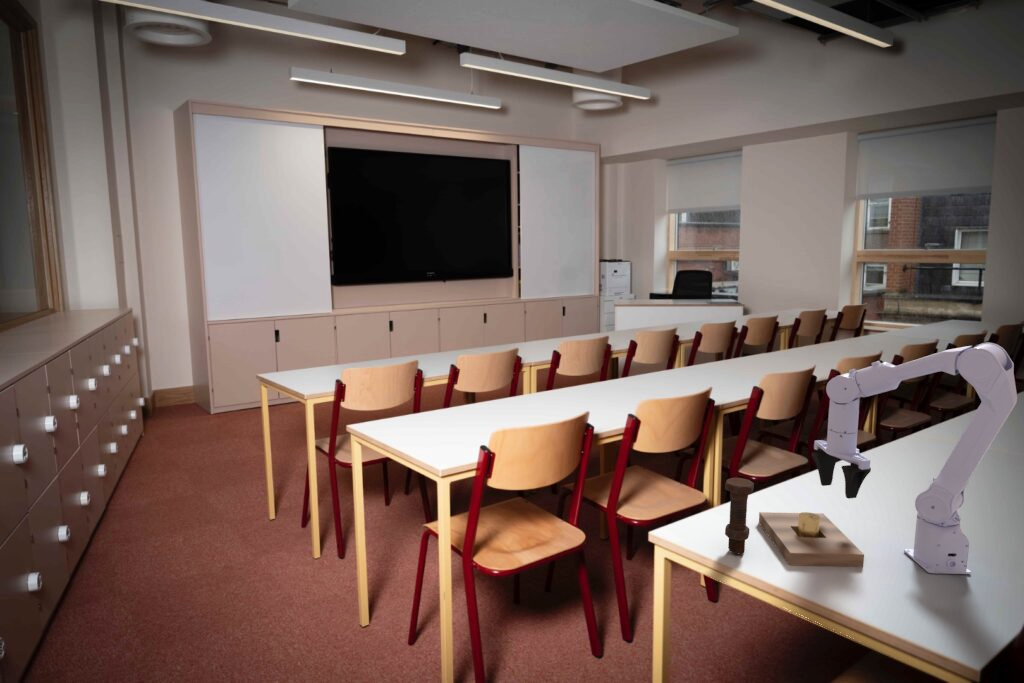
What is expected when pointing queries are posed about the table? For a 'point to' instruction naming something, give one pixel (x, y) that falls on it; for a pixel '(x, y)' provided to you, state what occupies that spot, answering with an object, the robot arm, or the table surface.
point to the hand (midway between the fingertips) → (838, 491)
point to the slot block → (810, 542)
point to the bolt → (738, 513)
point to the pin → (808, 525)
